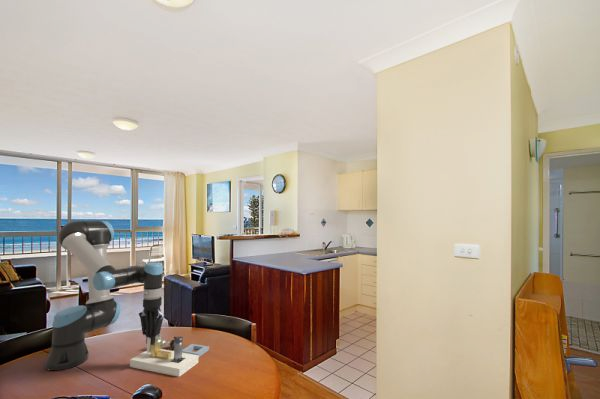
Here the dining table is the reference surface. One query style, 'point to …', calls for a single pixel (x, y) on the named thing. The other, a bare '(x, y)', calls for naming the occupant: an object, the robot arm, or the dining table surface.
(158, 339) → the valve
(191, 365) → the socket board
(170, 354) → the yellow l-shaped bracket
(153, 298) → the robot arm
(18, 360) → the dining table surface
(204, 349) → the gray square-hole plate
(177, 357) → the drill peg
